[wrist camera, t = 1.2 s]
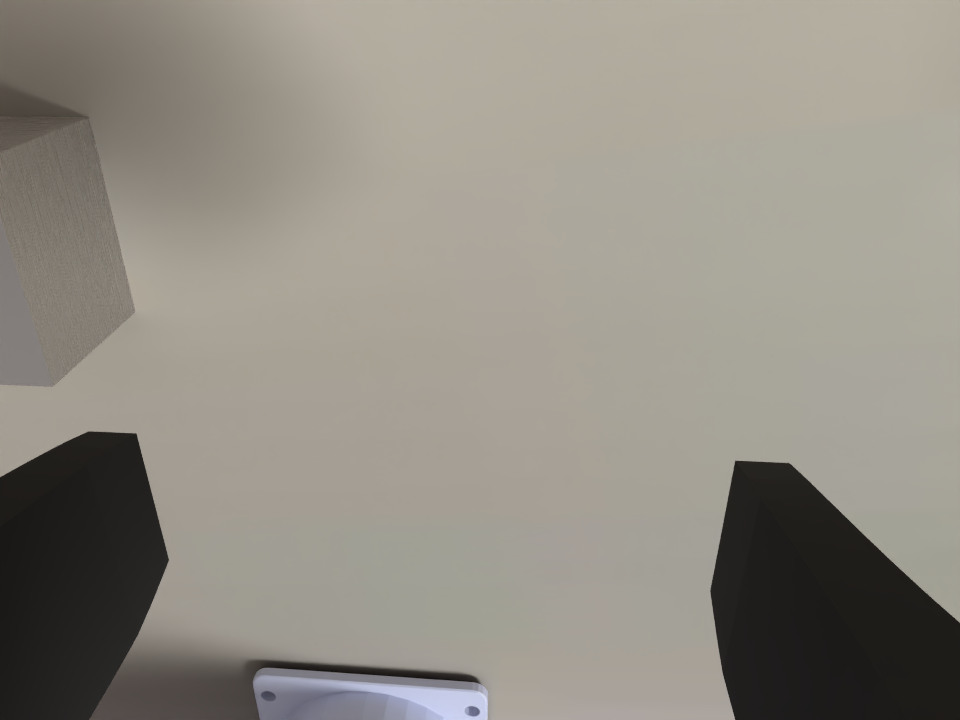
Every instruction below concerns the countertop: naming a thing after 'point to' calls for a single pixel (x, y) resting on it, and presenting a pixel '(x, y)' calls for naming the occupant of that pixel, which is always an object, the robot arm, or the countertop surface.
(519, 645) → the countertop surface
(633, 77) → the countertop surface
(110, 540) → the robot arm
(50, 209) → the block
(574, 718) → the countertop surface
